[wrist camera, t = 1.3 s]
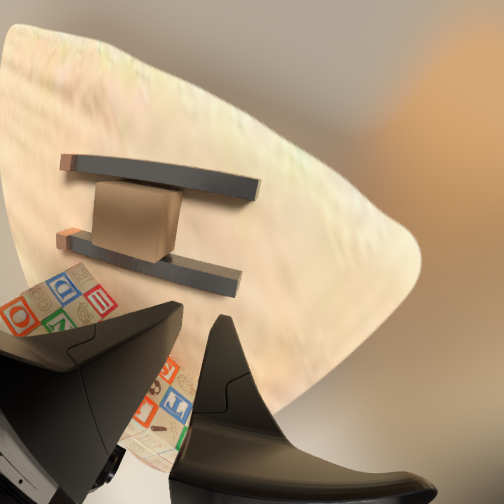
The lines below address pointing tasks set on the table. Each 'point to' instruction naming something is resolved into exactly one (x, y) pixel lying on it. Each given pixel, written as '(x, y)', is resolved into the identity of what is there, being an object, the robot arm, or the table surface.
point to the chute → (172, 174)
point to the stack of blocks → (92, 311)
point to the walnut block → (136, 218)
